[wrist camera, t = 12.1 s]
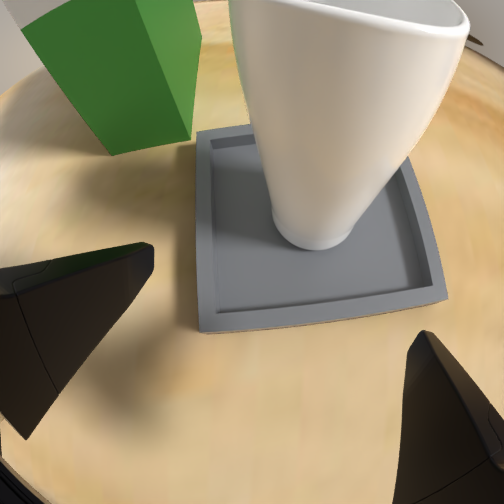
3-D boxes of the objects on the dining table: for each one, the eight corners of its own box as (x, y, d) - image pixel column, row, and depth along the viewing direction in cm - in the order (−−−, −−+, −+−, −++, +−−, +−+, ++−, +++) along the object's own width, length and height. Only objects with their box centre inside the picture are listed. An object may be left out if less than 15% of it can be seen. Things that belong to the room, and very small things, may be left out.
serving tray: (207, 334, 18) (199, 332, 16) (202, 147, 22) (196, 132, 20) (433, 303, 17) (448, 298, 15) (385, 133, 21) (391, 118, 19)
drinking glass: (287, 282, 17) (305, 41, 3) (244, 191, 20) (193, -35, 6) (382, 239, 18) (514, 44, 4) (332, 158, 20) (367, -47, 6)
